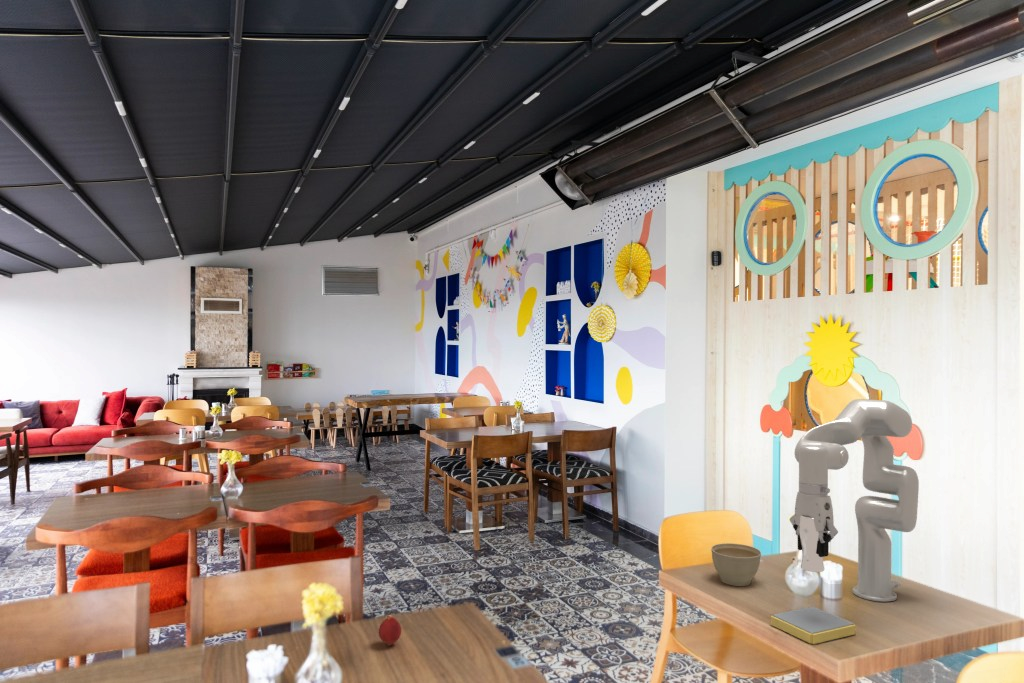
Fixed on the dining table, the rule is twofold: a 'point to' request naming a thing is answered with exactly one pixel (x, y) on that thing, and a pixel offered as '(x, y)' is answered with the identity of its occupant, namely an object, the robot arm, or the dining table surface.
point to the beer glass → (810, 545)
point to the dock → (813, 625)
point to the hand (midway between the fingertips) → (812, 552)
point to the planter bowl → (736, 563)
